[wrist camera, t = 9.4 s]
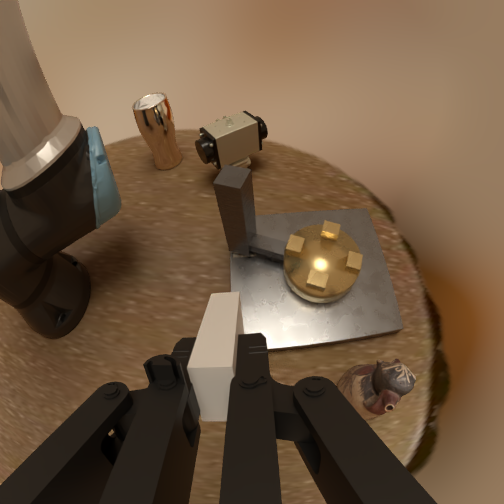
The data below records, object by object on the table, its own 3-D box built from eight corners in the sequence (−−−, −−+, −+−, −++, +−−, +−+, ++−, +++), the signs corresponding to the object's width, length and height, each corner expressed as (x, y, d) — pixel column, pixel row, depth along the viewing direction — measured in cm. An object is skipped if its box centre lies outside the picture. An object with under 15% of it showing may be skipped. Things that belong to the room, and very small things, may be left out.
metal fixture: (219, 273, 37) (196, 208, 26) (246, 216, 42) (237, 145, 30) (347, 312, 33) (384, 258, 22) (360, 248, 38) (389, 181, 26)
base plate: (235, 354, 33) (233, 350, 32) (231, 226, 44) (229, 217, 42) (397, 332, 33) (403, 327, 31) (363, 216, 43) (367, 207, 42)
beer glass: (157, 152, 56) (138, 96, 44) (187, 149, 56) (171, 89, 43) (149, 173, 53) (125, 113, 40) (181, 170, 52) (161, 106, 39)
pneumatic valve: (269, 166, 51) (267, 112, 41) (215, 192, 48) (202, 138, 38) (253, 152, 54) (249, 101, 43) (201, 176, 51) (188, 124, 40)
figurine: (396, 384, 29) (445, 368, 19) (366, 429, 27) (408, 435, 17) (355, 356, 32) (392, 330, 22) (323, 400, 29) (349, 397, 19)
